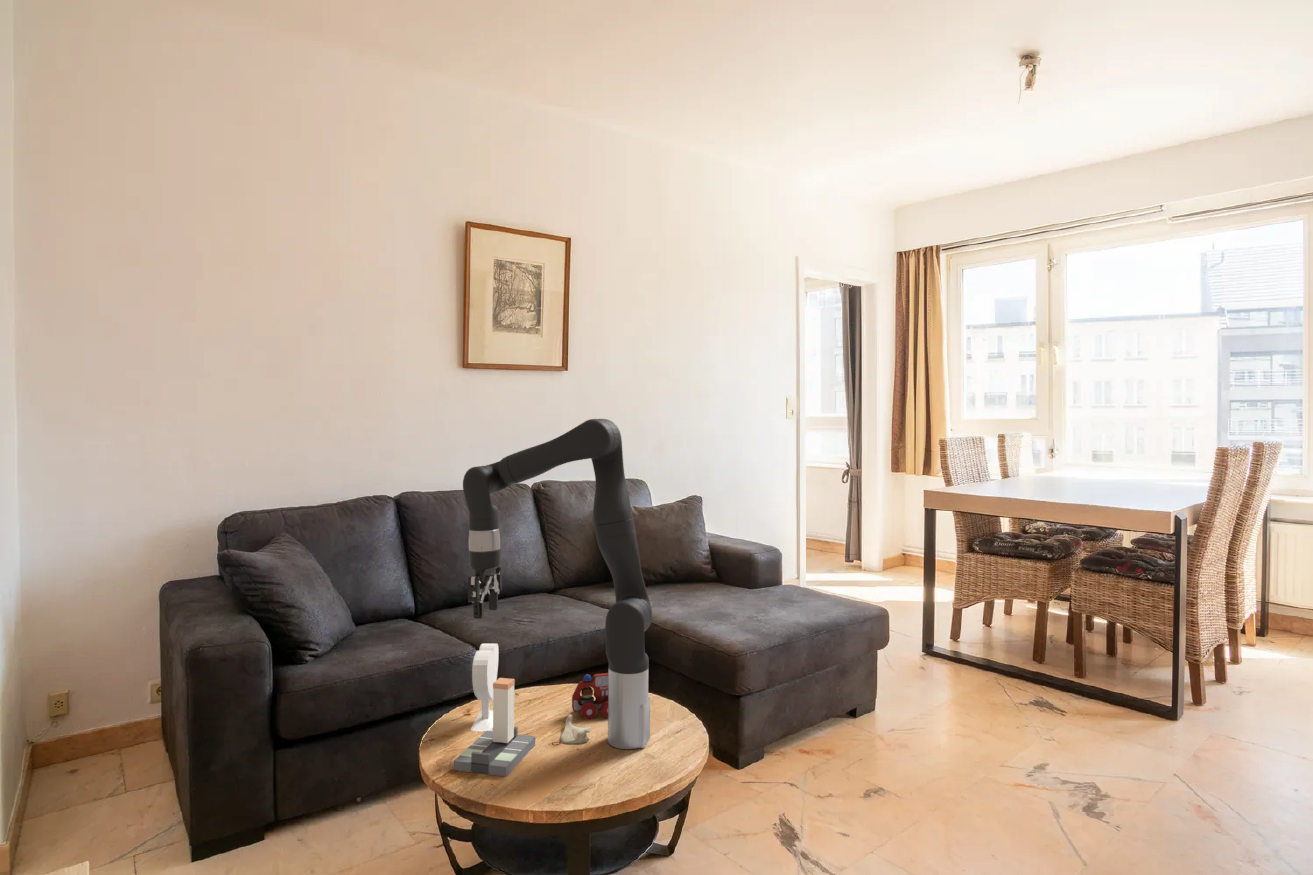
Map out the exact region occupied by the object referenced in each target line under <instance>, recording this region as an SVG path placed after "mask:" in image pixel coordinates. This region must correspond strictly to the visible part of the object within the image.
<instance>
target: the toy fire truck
mask: <svg viewBox="0 0 1313 875" xmlns="http://www.w3.org/2000/svg"><path fill="white" fill-rule="evenodd" d="M608 681H609V672H606V673H595V674H593V675H592V676H591V675H590V674H588V673H587V674H584V675H583V679H582V680H580V681H579V682H578V683H577V685H576V687H575V689H574V691H573V694H572V695H571V709H572V711H573V712H575V713H579V712H580V714H581V717H582V718H584V719H585V720H592V719H594V718H595V717H596V715H597V713H598V710H600V712H601V715H603V717H605V718H607V719H608Z"/></svg>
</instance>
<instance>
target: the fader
mask: <svg viewBox="0 0 1313 875" xmlns="http://www.w3.org/2000/svg"><path fill="white" fill-rule="evenodd" d="M515 681H516V680H515V678H507V677H506V678H505V677H499V678H497V680H496V681H495V682H494V683H493V700H492V701H493V702H492V705H493V706H492V710H493V728H492V731H493V742H501V743H508V742H509V741H510V740H511V739H512V738H513V737H514V727H515Z"/></svg>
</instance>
